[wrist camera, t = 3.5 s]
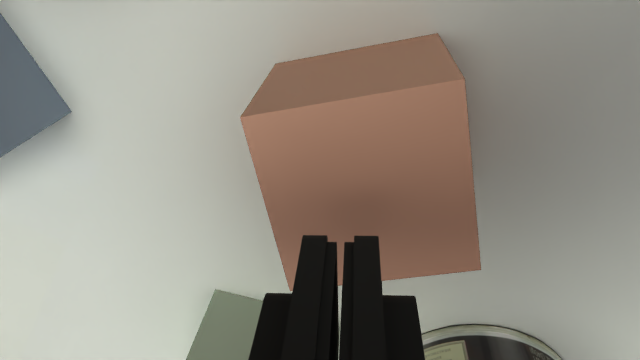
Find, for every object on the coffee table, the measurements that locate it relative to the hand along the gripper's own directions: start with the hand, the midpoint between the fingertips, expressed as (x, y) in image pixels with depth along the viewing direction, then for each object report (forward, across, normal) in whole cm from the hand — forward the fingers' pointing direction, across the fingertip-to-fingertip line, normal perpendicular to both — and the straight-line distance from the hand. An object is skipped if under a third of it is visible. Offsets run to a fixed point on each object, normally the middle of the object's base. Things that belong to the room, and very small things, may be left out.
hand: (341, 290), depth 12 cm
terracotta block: (+10, -1, 0) cm, 10 cm away
